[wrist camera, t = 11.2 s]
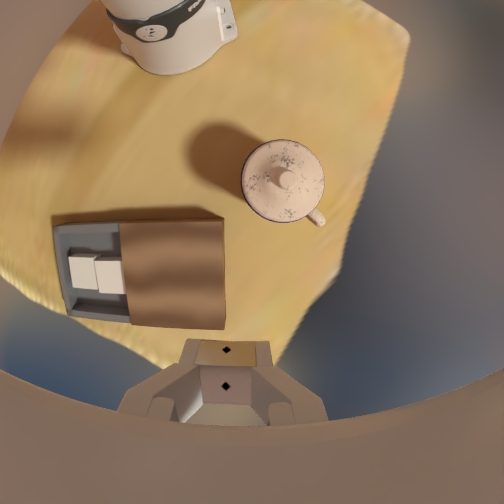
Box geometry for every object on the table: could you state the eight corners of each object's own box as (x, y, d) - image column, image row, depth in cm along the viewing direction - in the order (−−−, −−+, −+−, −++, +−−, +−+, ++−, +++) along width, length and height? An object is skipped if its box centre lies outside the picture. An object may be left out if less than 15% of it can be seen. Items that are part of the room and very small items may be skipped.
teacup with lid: (227, 183, 36) (220, 181, 25) (273, 137, 35) (285, 115, 24) (290, 242, 38) (308, 265, 27) (333, 197, 37) (368, 201, 26)
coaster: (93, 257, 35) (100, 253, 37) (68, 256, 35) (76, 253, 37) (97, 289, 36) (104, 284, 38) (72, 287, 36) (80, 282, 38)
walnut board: (130, 220, 37) (119, 223, 33) (224, 218, 37) (221, 221, 33) (140, 313, 40) (131, 324, 36) (225, 317, 41) (224, 329, 37)
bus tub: (65, 223, 37) (52, 226, 33) (130, 220, 37) (120, 223, 34) (77, 307, 40) (67, 315, 37) (140, 313, 40) (132, 323, 37)
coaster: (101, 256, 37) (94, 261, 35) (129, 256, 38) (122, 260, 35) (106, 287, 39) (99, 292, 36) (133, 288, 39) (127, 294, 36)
